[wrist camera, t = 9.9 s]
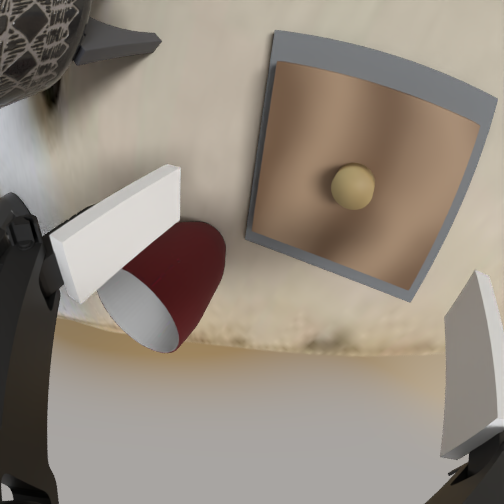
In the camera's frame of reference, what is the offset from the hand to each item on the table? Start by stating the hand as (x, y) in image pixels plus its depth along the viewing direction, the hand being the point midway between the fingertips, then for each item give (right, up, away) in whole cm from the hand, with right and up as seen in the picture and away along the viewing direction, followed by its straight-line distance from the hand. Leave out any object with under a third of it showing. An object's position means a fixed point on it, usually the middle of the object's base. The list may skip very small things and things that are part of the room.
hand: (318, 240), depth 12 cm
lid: (+4, +4, +6) cm, 9 cm away
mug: (-8, +1, +17) cm, 18 cm away
